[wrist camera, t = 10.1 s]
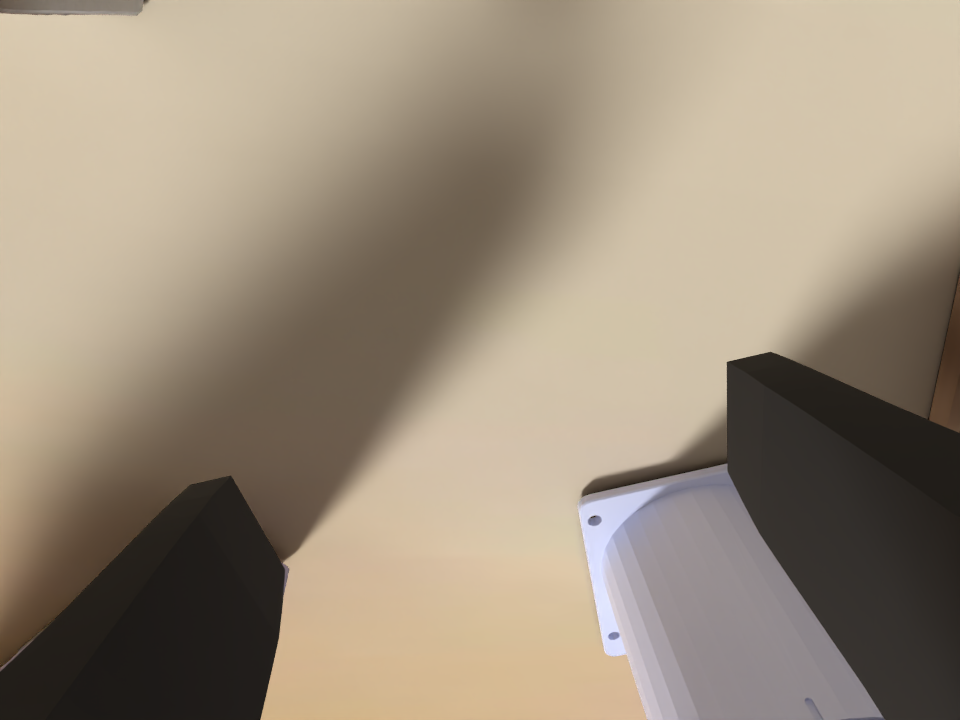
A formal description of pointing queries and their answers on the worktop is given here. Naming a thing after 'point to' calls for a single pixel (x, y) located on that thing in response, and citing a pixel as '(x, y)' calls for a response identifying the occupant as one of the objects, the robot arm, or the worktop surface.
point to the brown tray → (949, 375)
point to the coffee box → (72, 7)
